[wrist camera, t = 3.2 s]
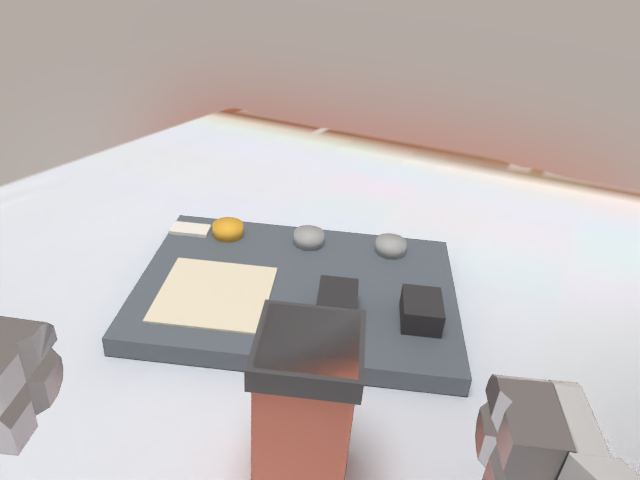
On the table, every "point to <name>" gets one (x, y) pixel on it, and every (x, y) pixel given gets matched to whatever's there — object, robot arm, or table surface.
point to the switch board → (295, 299)
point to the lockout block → (304, 389)
